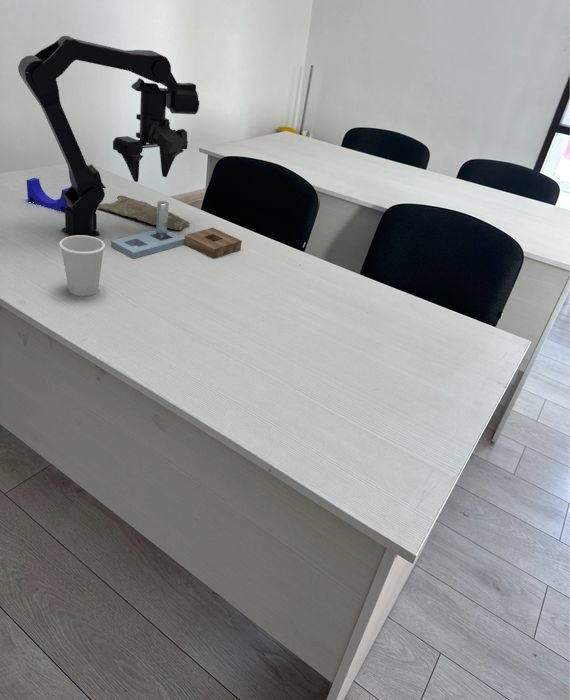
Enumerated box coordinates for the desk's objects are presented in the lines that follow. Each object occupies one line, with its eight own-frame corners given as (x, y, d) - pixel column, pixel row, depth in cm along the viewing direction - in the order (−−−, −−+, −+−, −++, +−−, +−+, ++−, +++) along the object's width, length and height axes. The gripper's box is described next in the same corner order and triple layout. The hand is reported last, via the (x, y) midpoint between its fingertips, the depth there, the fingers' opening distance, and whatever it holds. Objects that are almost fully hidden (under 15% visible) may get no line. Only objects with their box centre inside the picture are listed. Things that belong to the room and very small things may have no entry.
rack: (133, 258, 133) (133, 252, 132) (111, 246, 137) (111, 240, 136) (184, 244, 145) (184, 238, 144) (162, 233, 148) (162, 228, 147)
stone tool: (94, 210, 155) (175, 236, 149) (94, 200, 154) (176, 225, 148) (118, 201, 164) (196, 225, 158) (118, 191, 163) (197, 215, 157)
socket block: (213, 258, 140) (214, 249, 139) (184, 244, 145) (184, 234, 143) (240, 249, 147) (241, 240, 146) (211, 236, 152) (212, 227, 151)
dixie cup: (59, 281, 119) (57, 235, 113) (101, 279, 122) (101, 234, 117) (63, 300, 112) (61, 252, 107) (108, 298, 116) (108, 251, 111)
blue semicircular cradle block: (78, 209, 153) (77, 187, 150) (67, 214, 150) (66, 191, 146) (39, 198, 156) (38, 176, 153) (28, 202, 152) (26, 180, 149)
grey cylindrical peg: (160, 245, 142) (162, 205, 137) (153, 241, 143) (155, 202, 138) (168, 242, 144) (170, 203, 139) (161, 239, 145) (163, 200, 140)
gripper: (145, 123, 124) (143, 194, 132) (206, 118, 137) (200, 183, 146) (111, 110, 129) (111, 180, 137) (173, 107, 142) (169, 171, 151)
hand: (150, 179), depth 142 cm, fingers open, 9 cm apart
